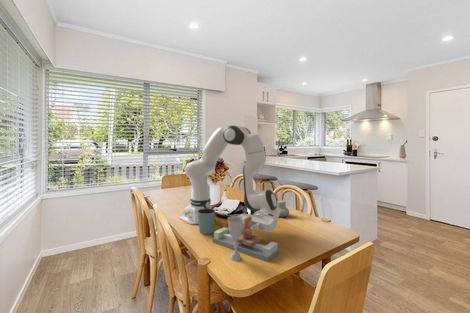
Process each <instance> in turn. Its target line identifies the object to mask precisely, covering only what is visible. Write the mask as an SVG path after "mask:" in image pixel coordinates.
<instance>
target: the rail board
mask: <svg viewBox="0 0 470 313" xmlns="http://www.w3.org/2000/svg"><path fill="white" fill-rule="evenodd" d="M212 243H214V244H218V245H220V246H223V247H225V248H228V249H231V250H234V239H233V238H232V236H231V235H230V232H229V229H228V227H225V226H223V227H222V228H219V229H217V230H214V232H213V237H212ZM237 247H238V248H237V252H239V253H243V254H245V255H248V256H251V257H254V258H256V259H259V260H261V261H264V262H267V263H268V262H270V261H271V260H272V259H273V258H274V257H276V255H278V254H279V248H278V242H275V241H270V242H269V243H268V244H265V243H262V242H260V241H259V242H258V243H256V244H255V245H253V246H252V247H251V246H248V245H245V244H242V243H239V242H237Z"/></svg>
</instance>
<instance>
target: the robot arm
mask: <svg viewBox="0 0 470 313" xmlns="http://www.w3.org/2000/svg"><path fill="white" fill-rule="evenodd" d="M228 145H232V146H233V145H234V146H242V147H243V150H244V155H245V163H244V164H245V165H244V166H243V169H242V170H243V171H242V173H243V175H242V176H243V190H244V192H243V194H244V195H243V203H244V205H245V207H246V209H247V208H248V209H249V210H255V209H260V210H258V211H256V212H255V213H254V214H253V215H250V214H247V213H241V214H238V215H237V216H241V217H244V216H251V217H252V225H251V226H250V229H251V230H252V231H253V230H259V231H260V230H261V231H265V232H273V231H274V230H275V229H276V228H277V219H279V215H280V208H279V207H278V206H277V201H278V198H277V195H276V194H275V193H274V191H272V190H271V189H264V190H260V191H255V190H254V175H255V174H256V172H257V171H259V170H261V169H262V168H263V166H264V165H266V162H267V155H266V151H265V147H264V144H263V141H262V138H261V136H260V135H259V134H257V133H251V131H250V130H249V129H248V128H246V127H243V126H242V125H241V126H240V125H235V124H234V125H229V126H226V127H224V126H221V127H218V128H217V129H216V130H215V131H214V132H213V133H212V135H211V136H210V138H209V139H208V140H207V142H206V144H205V145H204V147H203V149H202V155H201V157H200V158H199V159H198V160H192V161H191V162H189V163H187V165H186V166H185V169H184V172H185V174H186V177H187V178H189V180H190V183H191V188H192V190H191V191H192V198H190V199H189V202H190V203H189V204H188V206H186V207H185V208H184V209H183V213H182V215H180V216H179V219H180V220H182V221H183V222H185V223H186V224H187V223H188V224H189V225H199V221H198V213H197V211H198V210H200V209H204V208H211V204H212V203H211V202H212V200H211V199H212V198H211V186H210V185H209V184H208V181H207V176H210V175H211V174H213V172H215V169H216V165H217V163H218V160H219V159H220V157H221V155H222V153H223V152H224V150H225V149H226V147H227V146H228ZM211 209H212V208H211Z"/></svg>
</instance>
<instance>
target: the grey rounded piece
mask: <svg viewBox="0 0 470 313" xmlns="http://www.w3.org/2000/svg"><path fill="white" fill-rule="evenodd" d="M286 203H287V202H286V201H285V200H281V199H279V200H278V199H277V206H278V207H279V208H280V215H279V217H281V218H284V217H287V216H288V215H289V214H290V210H289V208H287V206H286V205H287V204H286ZM279 217H278V218H279Z"/></svg>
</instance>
